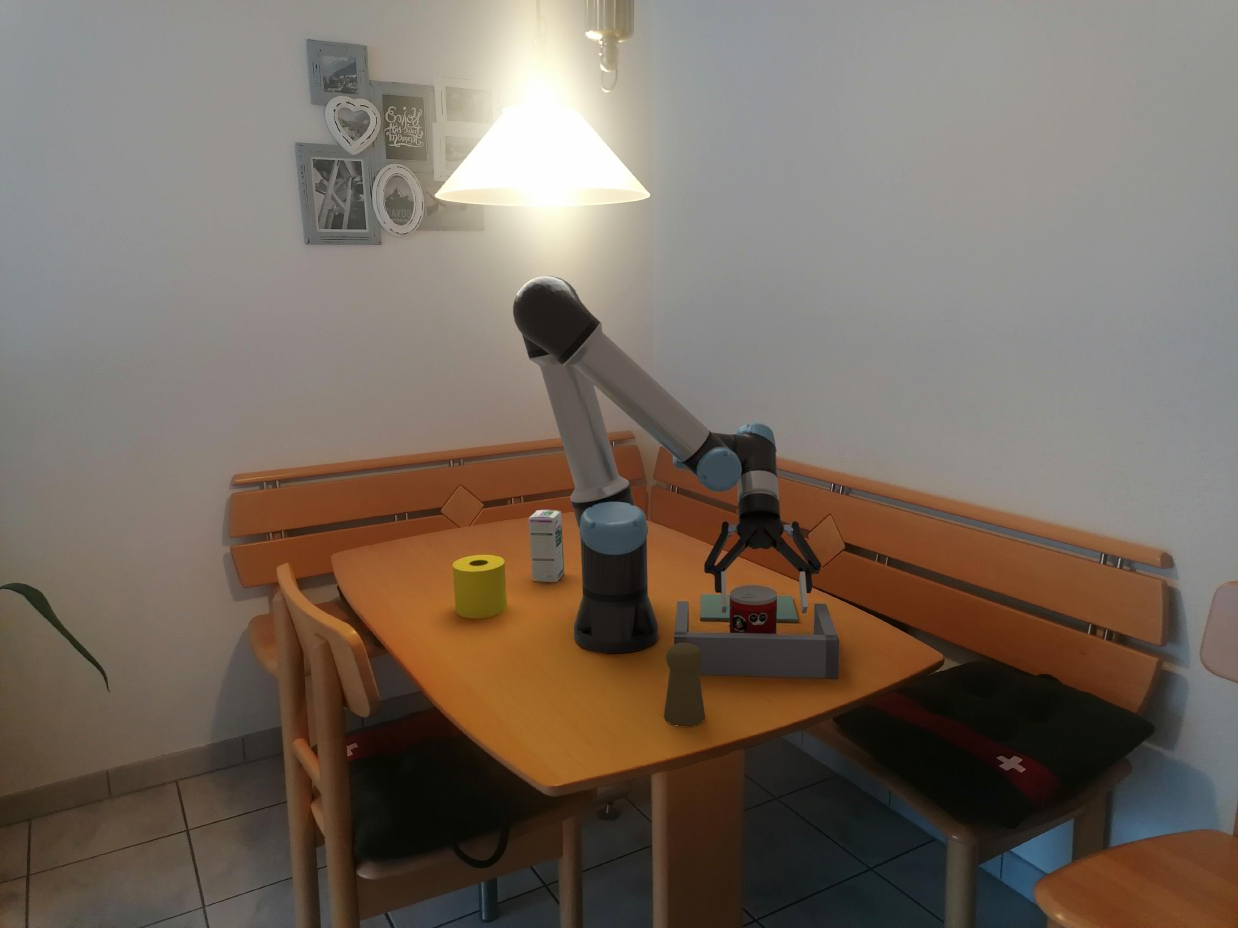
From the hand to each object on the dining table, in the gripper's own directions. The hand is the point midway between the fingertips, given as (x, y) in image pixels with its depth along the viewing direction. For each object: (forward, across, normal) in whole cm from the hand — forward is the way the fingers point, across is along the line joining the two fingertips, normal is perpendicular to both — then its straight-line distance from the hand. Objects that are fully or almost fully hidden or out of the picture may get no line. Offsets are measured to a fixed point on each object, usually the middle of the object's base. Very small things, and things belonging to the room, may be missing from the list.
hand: (764, 609), depth 145 cm
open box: (+7, +2, -3) cm, 8 cm away
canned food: (+7, +2, -3) cm, 8 cm away
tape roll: (-6, +54, -17) cm, 57 cm away
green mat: (-7, +2, -18) cm, 19 cm away
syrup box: (-19, +43, -30) cm, 56 cm away
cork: (+22, +14, +12) cm, 29 cm away
